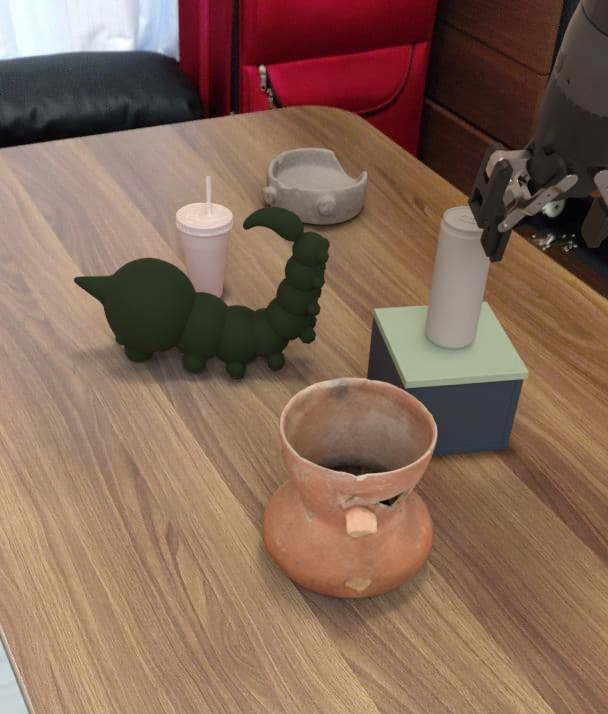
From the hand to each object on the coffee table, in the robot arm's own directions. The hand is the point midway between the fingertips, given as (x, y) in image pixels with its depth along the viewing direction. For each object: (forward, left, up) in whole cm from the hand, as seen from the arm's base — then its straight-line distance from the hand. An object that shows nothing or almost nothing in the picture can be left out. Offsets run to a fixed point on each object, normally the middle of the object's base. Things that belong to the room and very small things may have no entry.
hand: (540, 247), depth 79 cm
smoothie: (+24, -34, -22) cm, 47 cm away
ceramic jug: (+17, +10, -22) cm, 30 cm away
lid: (+4, -6, -13) cm, 15 cm away
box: (+4, -7, -22) cm, 23 cm away
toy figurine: (+26, -20, -22) cm, 39 cm away
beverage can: (+4, -7, -13) cm, 15 cm away
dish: (+7, -55, -22) cm, 60 cm away
